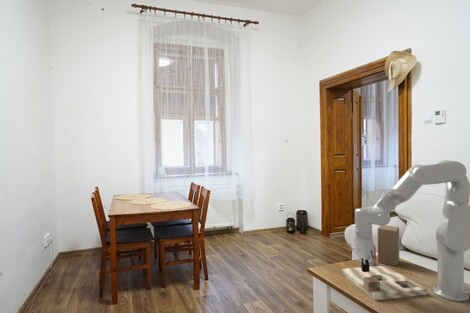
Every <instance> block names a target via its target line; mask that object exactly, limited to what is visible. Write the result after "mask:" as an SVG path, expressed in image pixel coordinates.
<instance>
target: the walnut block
mask: <svg viewBox="0 0 470 313" xmlns="http://www.w3.org/2000/svg"><path fill="white" fill-rule="evenodd" d="M364 287H365V288H366V289H367V290H368V291H380V282H379V281H378V280H377V279H376V278H375V277H364Z"/></svg>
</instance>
